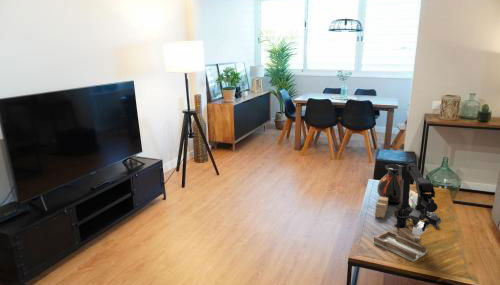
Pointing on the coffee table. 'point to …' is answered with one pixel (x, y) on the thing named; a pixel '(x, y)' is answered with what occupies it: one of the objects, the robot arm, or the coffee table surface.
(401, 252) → the jig
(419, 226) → the white rectangular block
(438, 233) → the coffee table surface
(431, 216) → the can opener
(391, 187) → the amphora vase
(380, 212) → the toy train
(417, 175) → the robot arm
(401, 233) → the long tan block
